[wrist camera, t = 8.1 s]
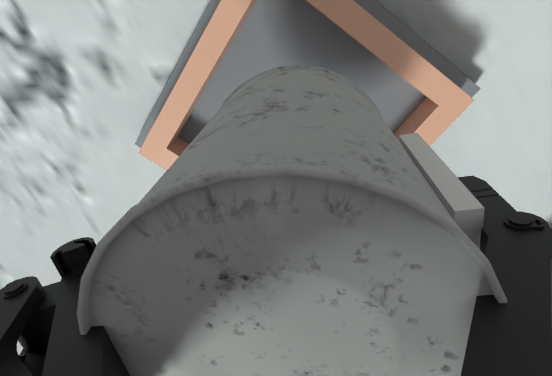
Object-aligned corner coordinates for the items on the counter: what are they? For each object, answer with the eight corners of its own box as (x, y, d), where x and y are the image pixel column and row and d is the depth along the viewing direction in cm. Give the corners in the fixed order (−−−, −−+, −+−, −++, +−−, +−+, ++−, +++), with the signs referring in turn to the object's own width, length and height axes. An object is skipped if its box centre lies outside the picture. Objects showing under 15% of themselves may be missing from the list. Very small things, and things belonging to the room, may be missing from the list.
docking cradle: (139, 139, 29) (120, 155, 26) (263, -91, 22) (256, -108, 18) (317, 250, 32) (319, 276, 29) (474, 85, 25) (498, 96, 22)
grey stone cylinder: (198, 212, 21) (80, 432, 10) (223, 42, 17) (66, 106, 6) (354, 248, 21) (404, 501, 10) (419, 91, 17) (621, 241, 6)
